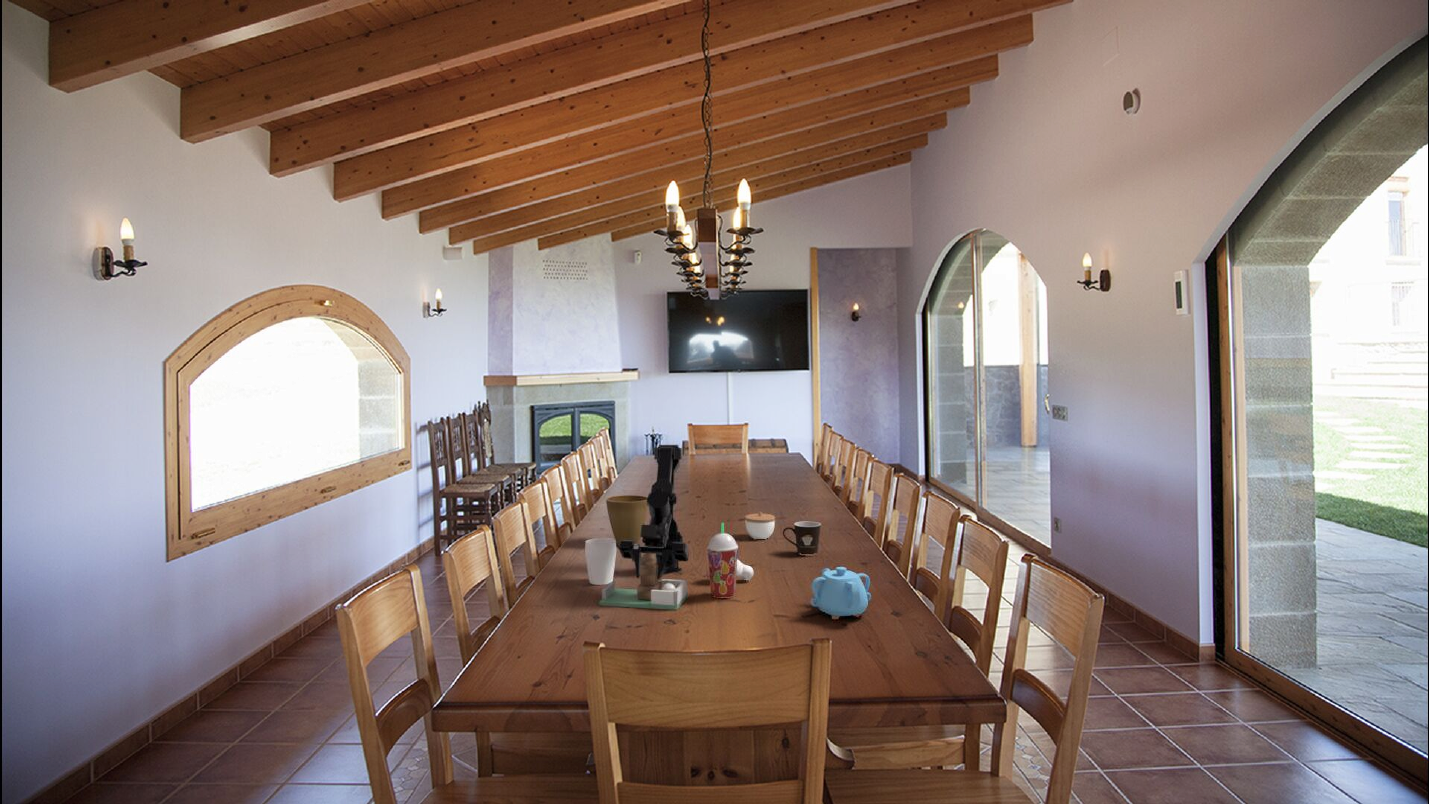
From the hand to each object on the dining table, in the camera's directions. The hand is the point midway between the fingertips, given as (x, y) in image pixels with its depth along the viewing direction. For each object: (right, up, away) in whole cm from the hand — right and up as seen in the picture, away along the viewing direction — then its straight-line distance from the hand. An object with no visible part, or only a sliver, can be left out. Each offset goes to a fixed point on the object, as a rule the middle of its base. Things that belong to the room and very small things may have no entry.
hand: (647, 578), depth 212 cm
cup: (-15, -6, +20) cm, 26 cm away
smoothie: (+20, -6, +6) cm, 22 cm away
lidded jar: (+34, -2, +74) cm, 81 cm away
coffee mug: (+47, -3, +51) cm, 69 cm away
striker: (0, -5, +2) cm, 5 cm away
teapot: (+50, -7, -9) cm, 51 cm away
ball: (+5, -4, 0) cm, 7 cm away
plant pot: (-12, -3, +67) cm, 68 cm away
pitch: (-1, -7, +2) cm, 7 cm away
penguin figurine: (+23, -6, +20) cm, 31 cm away
